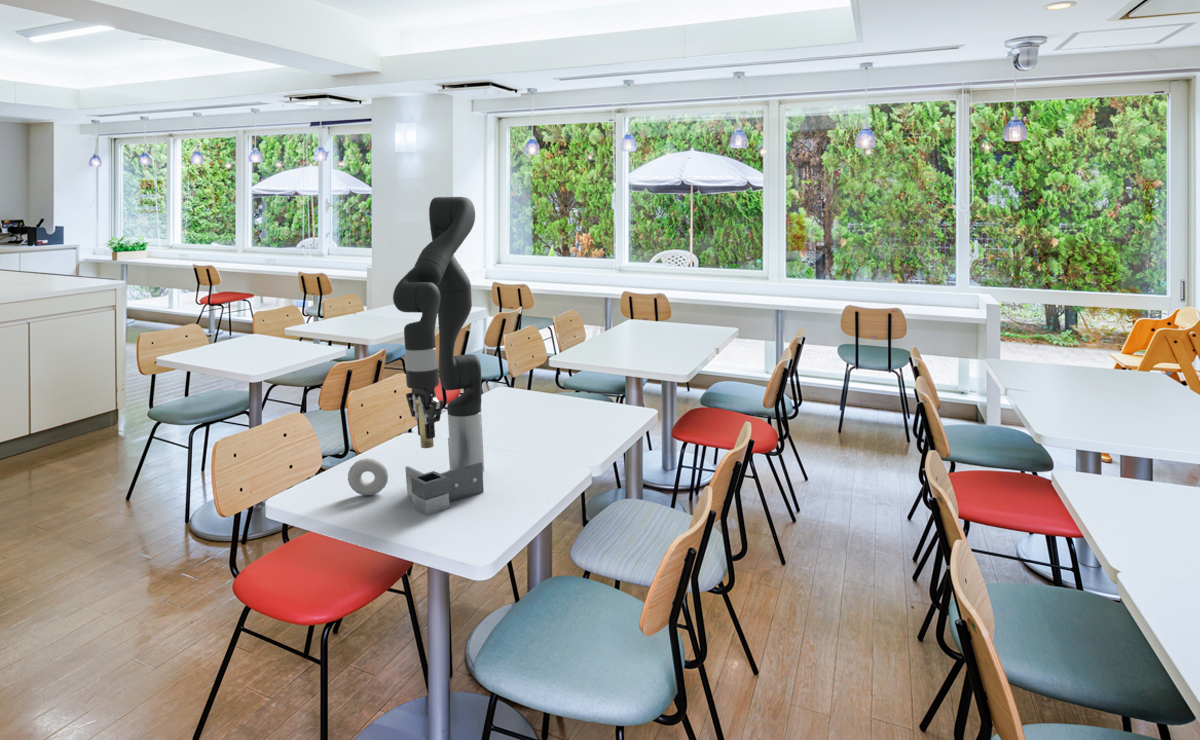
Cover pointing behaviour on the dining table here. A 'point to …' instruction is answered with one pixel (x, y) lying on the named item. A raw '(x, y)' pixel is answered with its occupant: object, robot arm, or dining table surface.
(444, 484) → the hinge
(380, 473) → the donut
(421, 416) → the pin
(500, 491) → the dining table surface
